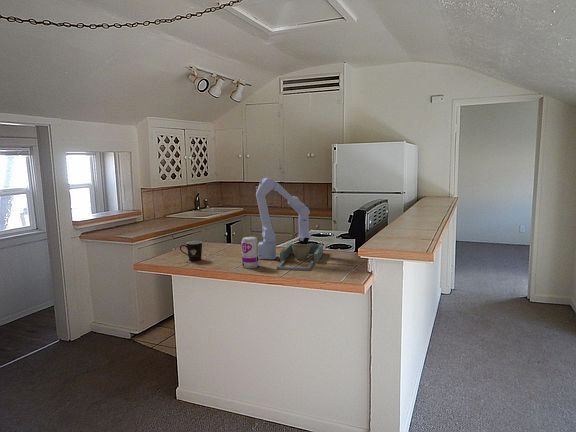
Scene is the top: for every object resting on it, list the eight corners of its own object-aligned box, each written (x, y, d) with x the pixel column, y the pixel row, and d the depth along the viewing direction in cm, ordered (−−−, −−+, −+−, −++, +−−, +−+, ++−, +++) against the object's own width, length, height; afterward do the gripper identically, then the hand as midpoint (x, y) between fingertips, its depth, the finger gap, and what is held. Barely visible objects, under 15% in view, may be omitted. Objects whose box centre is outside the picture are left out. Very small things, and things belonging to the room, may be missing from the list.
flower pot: (309, 261, 227) (308, 248, 226) (290, 260, 229) (290, 247, 228) (311, 256, 236) (311, 244, 235) (294, 256, 238) (293, 243, 237)
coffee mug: (206, 259, 237) (205, 241, 236) (196, 262, 229) (195, 244, 228) (189, 257, 242) (188, 240, 240) (179, 261, 234) (178, 243, 233)
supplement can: (252, 269, 214) (251, 240, 211) (239, 267, 218) (238, 238, 216) (261, 265, 220) (260, 237, 218) (248, 263, 225) (247, 235, 222)
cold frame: (280, 262, 226) (279, 252, 226) (289, 252, 248) (288, 243, 247) (317, 263, 222) (316, 253, 221) (323, 253, 244) (322, 244, 243)
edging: (276, 269, 212) (276, 267, 212) (283, 262, 226) (282, 260, 225) (309, 270, 209) (309, 268, 209) (313, 263, 222) (313, 261, 222)
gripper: (308, 229, 231) (309, 254, 233) (312, 224, 245) (313, 248, 247) (295, 229, 232) (296, 253, 234) (300, 224, 246) (301, 247, 248)
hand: (304, 250), depth 240 cm, fingers closed
